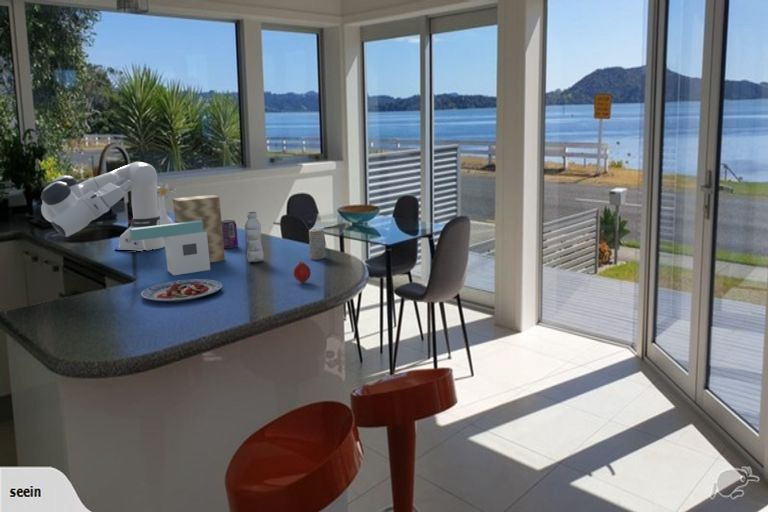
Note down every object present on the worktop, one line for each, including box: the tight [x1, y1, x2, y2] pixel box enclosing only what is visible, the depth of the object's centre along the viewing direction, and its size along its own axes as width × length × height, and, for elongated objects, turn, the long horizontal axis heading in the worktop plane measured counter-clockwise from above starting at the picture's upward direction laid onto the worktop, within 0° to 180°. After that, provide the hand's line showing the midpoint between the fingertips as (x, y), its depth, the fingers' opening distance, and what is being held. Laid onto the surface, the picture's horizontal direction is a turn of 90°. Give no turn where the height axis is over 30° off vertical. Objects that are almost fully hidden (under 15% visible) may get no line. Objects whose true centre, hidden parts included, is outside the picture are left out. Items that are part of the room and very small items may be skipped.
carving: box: [308, 228, 326, 261], centre depth 266 cm, size 6×8×12 cm
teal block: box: [130, 220, 204, 241], centre depth 249 cm, size 26×4×4 cm, turn 123°
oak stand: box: [172, 194, 226, 263], centre depth 269 cm, size 16×10×26 cm, turn 121°
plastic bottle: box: [244, 211, 265, 263], centre depth 263 cm, size 6×7×20 cm
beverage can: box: [221, 219, 239, 249], centre depth 297 cm, size 7×7×12 cm
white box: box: [163, 232, 211, 276], centre depth 254 cm, size 14×9×14 cm, turn 121°
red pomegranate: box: [293, 260, 311, 284], centre depth 228 cm, size 6×6×8 cm
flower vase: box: [157, 181, 178, 225], centre depth 351 cm, size 13×18×25 cm
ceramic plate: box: [141, 278, 223, 303], centre depth 220 cm, size 26×26×3 cm
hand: (128, 180), depth 243 cm, fingers open, 8 cm apart
